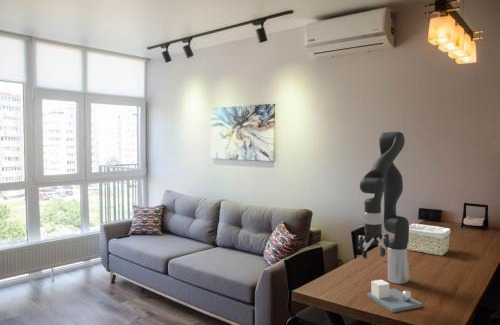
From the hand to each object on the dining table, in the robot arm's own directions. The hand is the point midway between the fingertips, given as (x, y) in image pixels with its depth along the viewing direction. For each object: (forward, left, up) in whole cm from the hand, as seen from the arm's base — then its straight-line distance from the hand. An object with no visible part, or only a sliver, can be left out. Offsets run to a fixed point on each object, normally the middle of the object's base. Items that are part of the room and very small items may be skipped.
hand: (373, 257), depth 174 cm
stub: (-9, +11, -17) cm, 22 cm away
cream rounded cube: (-2, +2, -17) cm, 18 cm away
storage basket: (-73, -49, -19) cm, 90 cm away
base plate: (-6, +6, -19) cm, 21 cm away
